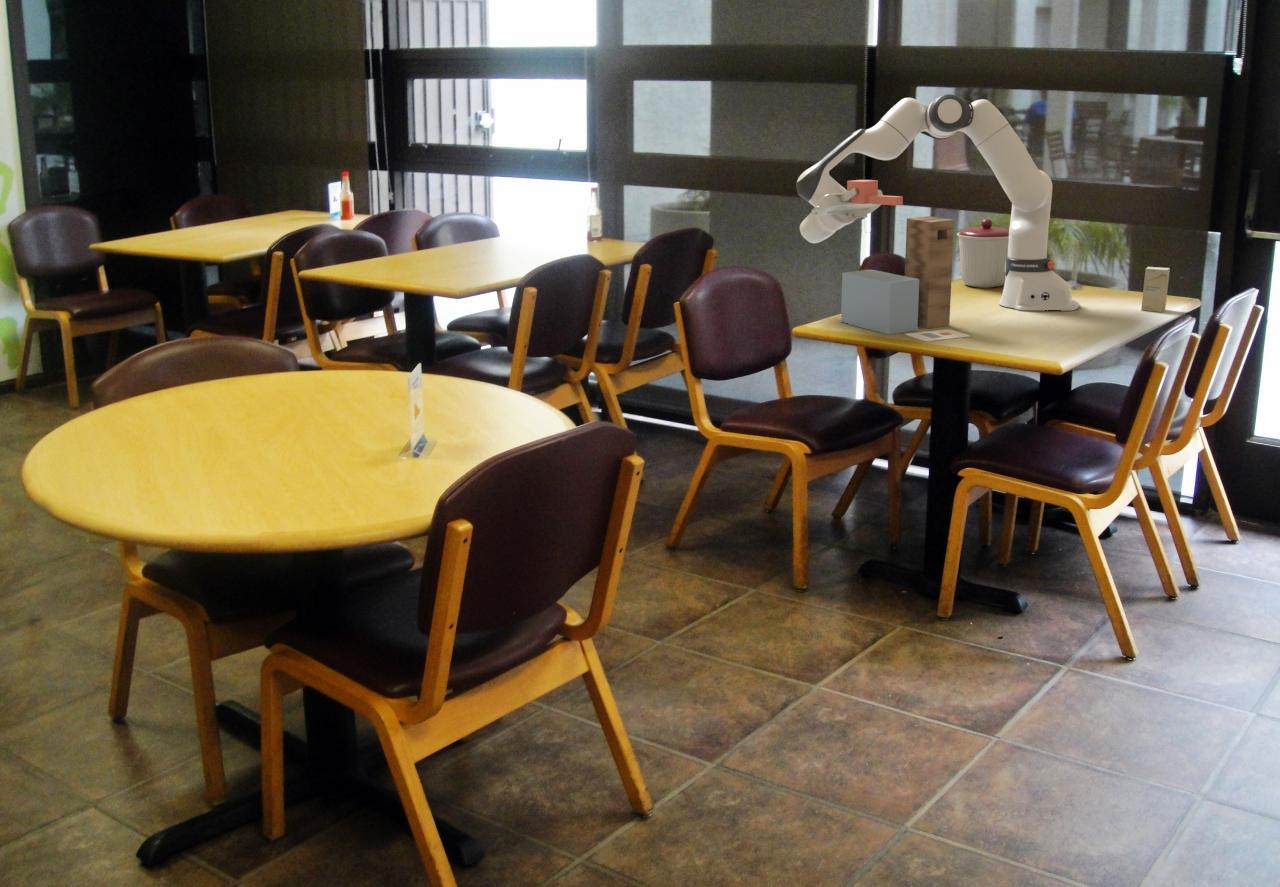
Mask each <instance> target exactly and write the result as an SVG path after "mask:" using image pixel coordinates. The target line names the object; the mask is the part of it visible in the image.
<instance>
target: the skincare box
mask: <svg viewBox="0 0 1280 887" xmlns="http://www.w3.org/2000/svg"><path fill="white" fill-rule="evenodd" d="M1170 271H1171V269H1170V267H1161V266H1159V267H1158V266H1155V267H1154V266H1147V267H1146V268H1145V273H1144V282H1143V291H1142V299H1141V308H1140V310H1141V311H1147V312H1157V313H1159V312H1160V313H1163V312H1165V310H1166V307H1167V306H1166V305H1167V296H1168V288H1169V281H1170Z"/></svg>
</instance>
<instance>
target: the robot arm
mask: <svg viewBox="0 0 1280 887" xmlns="http://www.w3.org/2000/svg"><path fill="white" fill-rule="evenodd" d="M958 132H962V133H964V134H965V135H967V137H969V138H970V139H971V141H972V142H973V144H974V146H975V147H976V149H977V150H978V152H979V153H980V155H981V156H982V157H983V160H984V161H985V162H986V163H987V164H988V166H989V167H990V169H991V170H992V172H993V174H994V175H995V178H996V179H997V181H998V183H999V184H1000V186H1001V188H1002V189H1003V191H1004V193H1005V194H1006V196H1007V198H1008V199H1009V201H1010V203H1011V211H1010V213H1011V214H1010V221H1009V228H1008V229H1009V240H1008V256H1007V257H1006V260H1005V276H1006V278H1005V282H1004V284H1003V285H1004V286H1003V289H1002V293H1001V297H1000V300H999V303H998V304H999V305H1000V306H1002V307H1005V308H1010V309H1015V310H1017V311H1045V310H1047V311H1048V310H1061V312H1062V311H1064V312H1065V311H1066V312H1067V311H1075V310H1077V309H1079V308H1080V304H1079V301H1078V300H1076V299H1073V298H1072V297H1073V296H1072V294H1073V293H1072V290H1071V286H1070V285H1069V283H1068V282H1067V281H1066V280H1064V279H1063V278H1062V277H1061V276H1060V275H1059V274H1058V273H1056V272H1055V271H1053V270H1054V268H1055V264H1056V263H1055V262H1054V260H1053V259H1052V258H1049V257H1048V256H1047V255H1048V240H1049V228H1050V218H1051V208H1052V198H1053V196H1052V195H1053V182H1052V179H1051V177H1050V175H1048V173H1046V172H1045V171H1043V170H1041V169H1039V167H1038V166H1037V165H1036V163H1035V162H1034V160H1033V158H1032V157H1031V155H1030V153H1029V151H1028V150H1027V147H1026V146H1025V144H1024V143H1023V141H1022V140H1021V138H1020V137H1019V136H1018V134H1017V133H1016V131H1015V130H1014V129H1013V127H1012V126H1011V124H1010V123H1009V121H1008V120H1007V119H1006V117H1005V116H1004V115H1003V114H1002V113H1001V111H1000V110H999V109H998V108H997V107H996V106H995V105H994V104H993V103H992V102H991V101H989V100H988V99H983V98H981V99H977V100H973V101H972V102H970V101H968V100H967V99H964V98H962V97H960V96H957V95H955V94H950V93H947V94H943V95H940V96H937V97H936V98H935V99H934V100H933V101H932V102H930V104H924V103H921V102H920V101H919V100H917V99H916V98H913V97H904V98H902V99H900V100H899V101H898V102H897V103H896V104H894V105H893V106H892V107H891V108H890V109H889V110H888V111H887V112H886V113H885V114H884V115H883V116H882V117H881V118H880V120H879V121H878V122H877V123H876V124H875V125H873V126H871V127H869V128H867V129H864V128H860V129H857V130H855V131H854V132H853V133H851V134H849V135H848V136H847V137H846V138H845V139H843V140H842V141H841V142H840V143H838V144H837V145H836V146H834V148H832V149H831V150H830V151H829V152H828V153H827V154H825V155H824V156H823V157H822V158H821V159H819V160H818V161H817V162H816V163H814V164H813V165H812V166H810V167H809V168H807V169H806V170H804V171H803V172H802V173H801V174H800V175H799V176H798V179H797V181H796V187H795V188H796V192H797V195H798V196H800V198H802V199H803V200H805V201H806V202H808V203H809V204H810V205H811V206H813V207H814V208H812V209H811V212H810V213H809V214H808V215H807V216H806V217H805V218H804V219H803V220H802V221H801V223H800V224H799V232H800V234H801V237H802V238H804V240H806V241H807V242H808V243H810V244H819V243H821V242H823V241H825V240H827V239H829V238H830V237H831V236H832V235H834V234H835V233H836V232H837V231H839V230H841V229H842V228H843V227H845V226H848V225H851V224H852V223H856V222H858V221H863V220H866V219H867V218H868V215H869V214H871V213H873V212H874V211H876V210H877V209H878V208H879V207H881V206H882V205H881V204H856V203H851V202H849V201H848V200H849V199H850V198H852V197H854V196H857V195H858V194H859V191H858V188H853V189H852V190H850V191H848V192H847V188H845V187H844V186H842V185H841V184H840V183H839V182H837V181H836V180H835V179H834V178H833V177H832V176H831V175H830V171H831V170H832V169H833V168H835V167H836V166H837V165H838V164H839V163H841V162H842V161H843V160H844V159H845V158H847V156H849V155H850V154H854V153H857V154H862V155H865V156H867V157H870V158H872V159H873V158H874V159H876V160H881V161H891V160H894V159H897V158H898V157H899V156H900V155H901V154H902V153H903V152H904V151H905V150H906V149H907V148H908V147H909V146H910V145H911V143H912V142H913V141H914V139H916V137H917V136H918V135H919V134H922V135H925V136H927V137H929V138H932V139H934V140H940V141H941V140H946V139H949V138H950V137H952V136H954V135H956V133H958ZM878 195H884V194H883V191H882V190H881V189H878Z"/></svg>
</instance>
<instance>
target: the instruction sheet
mask: <svg viewBox="0 0 1280 887" xmlns="http://www.w3.org/2000/svg"><path fill="white" fill-rule="evenodd" d="M904 336H907V337H911V338H914V339H917V340H920V341H922V342H935V341H943V340H953V339H961V338H968V337H969V338H970V337H971V335H969V334H966V333H963V332H959V331H957V330H952V329H951V328H950V329H949V328H946V329H937V330H927V331H919V332H912V333H910V332H909V333H908V332H907V333H904Z"/></svg>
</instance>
